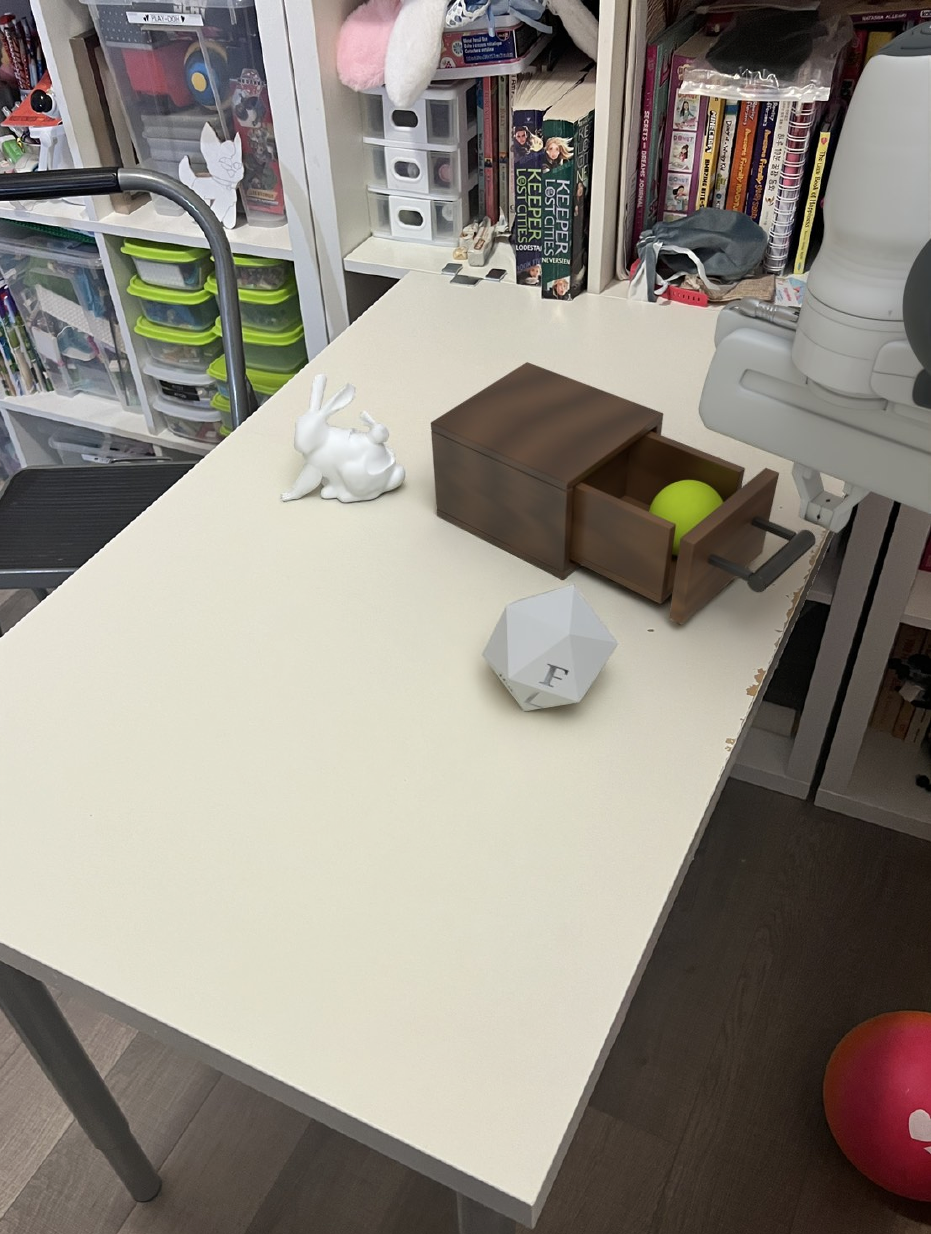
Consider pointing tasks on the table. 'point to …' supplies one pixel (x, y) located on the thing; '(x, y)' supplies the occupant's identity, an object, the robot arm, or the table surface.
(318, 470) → the rabbit figurine
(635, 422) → the cabinet
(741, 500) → the drawer
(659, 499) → the ball
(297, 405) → the table surface
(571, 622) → the die
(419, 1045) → the table surface
